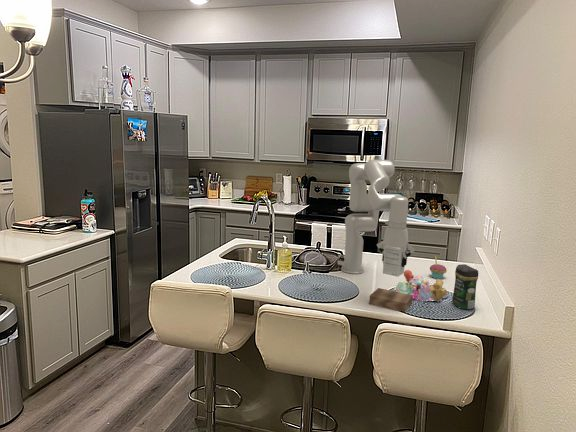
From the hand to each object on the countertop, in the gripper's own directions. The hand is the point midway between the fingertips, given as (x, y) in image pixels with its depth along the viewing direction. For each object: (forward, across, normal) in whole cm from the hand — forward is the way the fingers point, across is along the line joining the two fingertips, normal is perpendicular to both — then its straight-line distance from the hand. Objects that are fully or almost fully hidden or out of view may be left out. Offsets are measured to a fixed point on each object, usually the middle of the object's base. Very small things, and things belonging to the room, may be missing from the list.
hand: (394, 264), depth 193 cm
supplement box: (+4, 0, 0) cm, 4 cm away
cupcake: (+18, +10, +52) cm, 56 cm away
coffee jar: (+18, +28, +16) cm, 37 cm away
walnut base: (+18, 0, 0) cm, 18 cm away
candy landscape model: (+19, +8, +22) cm, 30 cm away
